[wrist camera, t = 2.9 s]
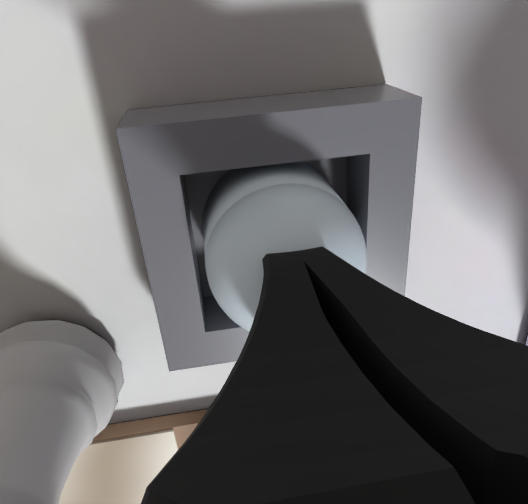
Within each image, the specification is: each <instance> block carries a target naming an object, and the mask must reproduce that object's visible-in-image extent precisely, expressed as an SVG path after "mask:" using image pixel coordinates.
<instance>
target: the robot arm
mask: <svg viewBox="0 0 528 504" xmlns="http://www.w3.org/2000/svg"><path fill="white" fill-rule="evenodd" d="M262 262H263V270H264V276H263V284H262V289H261V295H260V300H259V304H258V307H257V310H256V314H255V317H254V320H253V323H252V326H251V329H250V332H249V334H248V337H247V340H246V342H245V344H244V347H243V349H242V351H241V353H240V355H239V358H238V360H237V362H236V363H235V365H234V367H233V369H232V371H231V373H230V375H229V377H228V379H227V380H226V382H225V384H224V386H223V387H222V389H221V391H220V392H219V394H218V396H217V397H216V399H215V400H214V402H213V403H212V404H211V406H210V407H209V409H208V410H207V412H206V413H205V415H204V416H203V417H202V419H201V420H200V422H199V423H198V425H197V426H196V428H195V429H194V431H193V432H192V433H191V434H190V436H189V437H188V438H187V440H186V441H185V442H184V443H183V445H182V446H181V447H180V448H179V449H178V451H177V452H176V453H175V454H174V455H173V457H172V458H171V459H170V460H169V461H168V462H167V464H166V465H165V466H164V467H163V468H162V470H161V471H160V472H159V473H158V474H157V476H156V477H155V478H154V479H153V480H152V481H151V483H150V484H149V485H148V486H147V488H146V491H145V493H144V496H143V499H142V502H141V504H528V337H527V341H526V345H524V344H521V343H518V342H515V341H512V340H509V339H506V338H503V337H500V336H497V335H494V334H491V333H488V332H485V331H482V330H479V329H477V328H474V327H471V326H469V325H466V324H464V323H461V322H459V321H457V320H454V319H452V318H450V317H447V316H445V315H442V314H440V313H438V312H435V311H433V310H431V309H429V308H427V307H425V306H423V305H420V304H418V303H416V302H414V301H413V300H411V299H409V298H407V297H405V296H403V295H401V294H399V293H397V292H395V291H394V290H392V289H390V288H388V287H387V286H385V285H383V284H381V283H380V282H378V281H376V280H375V279H373V278H371V277H370V276H368V275H366V274H365V273H363V272H361V271H360V270H358V269H357V268H355V267H354V266H352V265H351V264H349V263H347V262H346V261H344V260H343V259H341V258H340V257H338V256H337V255H335V254H334V253H332V252H331V251H329V250H328V249H326V248H324V247H323V246H321V247H316V248H311V249H305V250H299V251H291V252H282V253H268V254H266V255H265V256H264V258H263V259H262Z"/></svg>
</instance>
